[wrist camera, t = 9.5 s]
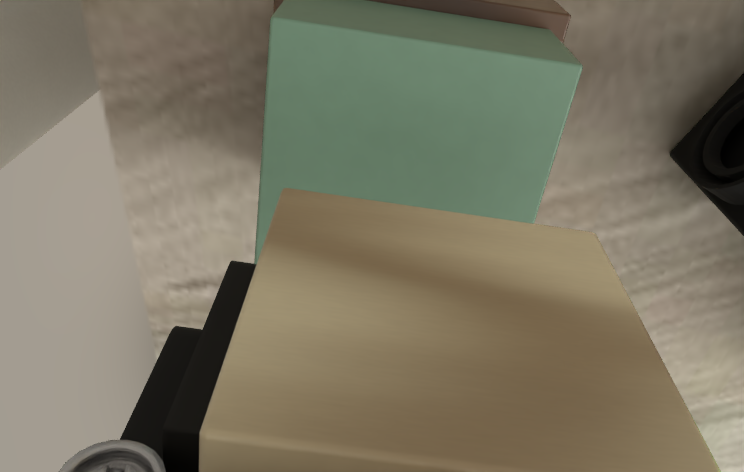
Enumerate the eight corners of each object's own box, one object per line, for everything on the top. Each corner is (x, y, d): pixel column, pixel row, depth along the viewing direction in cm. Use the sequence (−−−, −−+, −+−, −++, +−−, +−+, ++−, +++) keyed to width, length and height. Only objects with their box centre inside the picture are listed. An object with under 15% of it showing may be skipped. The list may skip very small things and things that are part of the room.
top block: (273, 218, 24) (252, 280, 20) (291, -13, 20) (270, 16, 16) (489, 248, 24) (505, 314, 20) (551, 29, 20) (584, 65, 16)
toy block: (262, 414, 14) (192, 706, 9) (282, 184, 11) (197, 433, 6) (515, 447, 14) (576, 747, 9) (596, 230, 11) (741, 502, 7)
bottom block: (279, 170, 28) (258, 228, 24) (297, -53, 24) (276, -33, 19) (483, 200, 29) (499, 262, 24) (539, -14, 24) (572, 14, 20)
